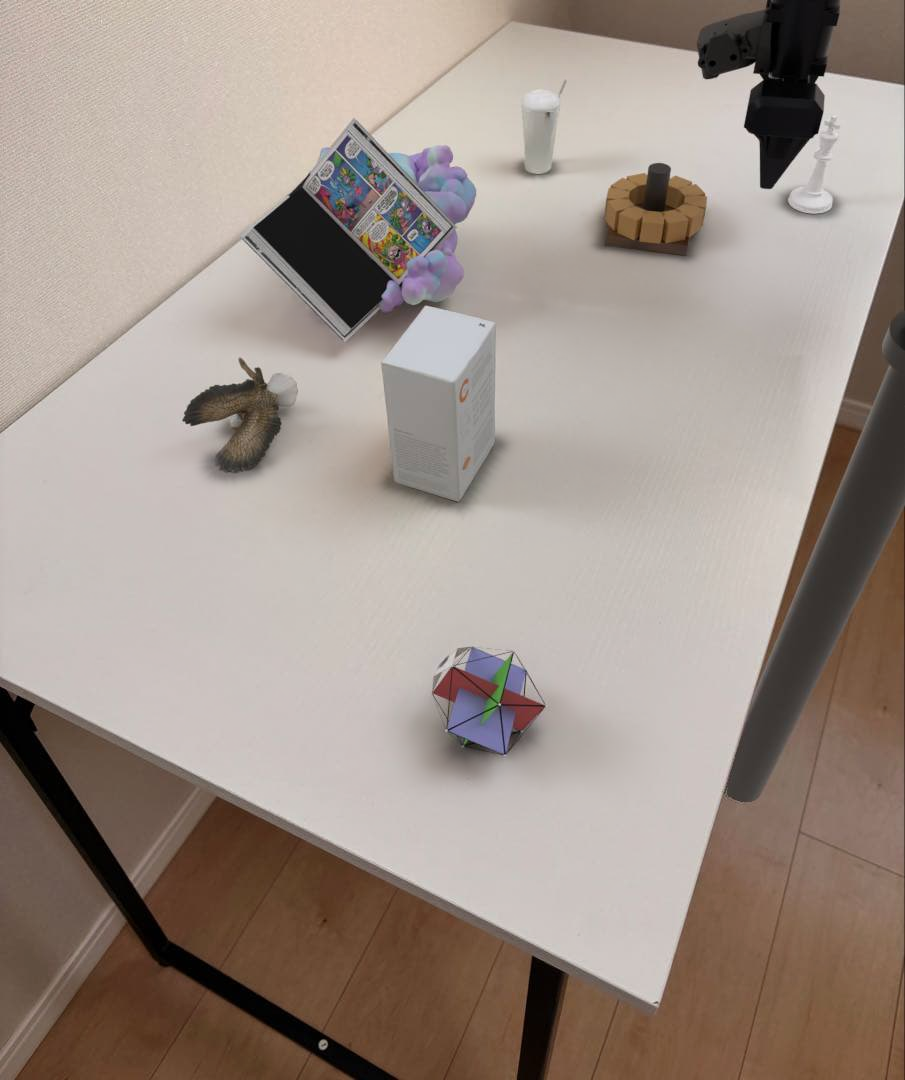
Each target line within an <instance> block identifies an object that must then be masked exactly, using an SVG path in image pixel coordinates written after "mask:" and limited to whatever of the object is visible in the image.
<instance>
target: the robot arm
mask: <svg viewBox="0 0 905 1080" xmlns="http://www.w3.org/2000/svg"><path fill="white" fill-rule="evenodd" d="M841 1H842V0H766V3H765V8H764V9H761V10H757V11H753V12H747V13H742V14H739V15H736V16H733V17H729V18H726V19H723V20H722V19H721V20H719V21H716V22H712V23H710V24H707V25H705V26H703V27H702V28H701V29H700V30H699V32H698V36H697V39H696V43H695V44H696V49H697V54H698V59H697V66H698V68H700V69H701V75H702V78H703V79H704V80H712V79H717V78H718V77H719V76H720V75H722V74H726V73H730V72H734V71H737V70H741V69H744V68H747V67H748V68H749V67H750V66H752V65H753V64H754V66H753V71H752V74H756V75H759V76H760V77H761V78H762V80H761V81H760V82H759V83H757V84H755V85H754V86H753V87H752V88H751V89H750V92H749V97H748V103H747V107H746V112H745V117H744V123H743V128H744V129H745V130H746V131H747V133H749V134H751V135H753V136H754V137H755V138H756V139H757V140H758V141H759V188H760V189H763V190H772V189H773V188H774V187H775V186H776V184H777V183H778V181H779V180H780V179H781V177H783V175H784V174H785V172H786V171H787V170H788V168H789V167H790V165H791V164H792V162H793V161H794V160H796V157H797V156H798V155H799V154H800V153H801V151H802V150H803V149H804V147H805V146H806V145H807V144H808V143H809V141H810V140H812V139H814V138H815V136H816V135H818V134H819V131H820V128H821V123H822V119H823V116H824V111H825V97H826V96H825V93H824V92H823V91H822V89H821V88H820V87H819V85H818V84H817V83H816V82H817V81H818V79H819V77H822V78H824V77H825V75H826V71H827V66H828V55H829V51H830V47H831V42H832V38H833V35H834V31H835V27H837V26H838V21H839V17H840V12H841Z"/></svg>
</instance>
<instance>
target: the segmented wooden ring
mask: <svg viewBox="0 0 905 1080" xmlns="http://www.w3.org/2000/svg"><path fill="white" fill-rule="evenodd" d="M646 181H647V174H646V173H645V172H643V173H636V174H631V175H626V178H625V177H621V178H620V179H619V180H616V181H615V182H614V183H612V184H611V185H610V187H608V190H607V194H606V198H605V208H604V221H605V222H606V223H607V225H609V226H610V227H611V228H612V229H613V231H615V230H617V233H618V234H620V235H623V236H625V237H627V238H630V239H632V240H635V239H637V238H638V237H640V240H639V241H640V242H649V243H659V244H660V243H661V238H662V239H663V241H664V242H665V243H671V242H676V241H681V240H685V237H688V238H690V239H691V237H692V236H694V235H695V234H696V233H698V232H699V231H700V230H701V228H702V227H703V225H704V220H705V215H706V211H707V204H708V203H707V202H708V196H706V193H705V192H704V190H703V189H702V188H701V187H700V186H699V185H698V184H697V183H695V184H693V181H692V180H688V179H686V178H683V177H681V176H678V175H674V176H672V177H670V179H669V185H668V191H667V198H666V204H665V205H667V206H670V207H672V208H675V210H670V211H665V212H655V211H647V210H644V209H642V208H639V207H637V206H635V205H638V204H643V202H644V195H645V188H646Z"/></svg>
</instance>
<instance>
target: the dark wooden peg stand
mask: <svg viewBox="0 0 905 1080" xmlns="http://www.w3.org/2000/svg"><path fill="white" fill-rule="evenodd" d="M671 173H672V167H671V166H670V165H668V164H667V163H663V162H654V163H650V164H649V165H648V167H647V174H646V175H647V181H646V188H645V195H644V202H643V204H638V205H635V206H637V207H639V208H642V209H644V210H647V211H655V212H665V211H670V210H675V208H672V207H670V206H667V205H665V204H666V198H667V191H668V185H669V179H671ZM607 225H608V224H607ZM639 240H640V237H638V238H637V239H635V240H632V239H630V238H627V237H625V236H623V235H620V234H618V233H617V230H615V231H613V229H612V228H611V227H610V226H609V225H608V226H607V229H606V232H605V235H604V242H603V244H604V246H608V247H609V246H610V247H616V248H624V249H632V250H640V251H648V252H655V253H661V254H662V253H664V254H671V255H677V256H679V255H680V256H687V254H688V250H689V246H690V240H691V237H690V238H688V237H685V240H681V241H676V242H671V243H665V242H664V241H663V239H662V238H661V243H660V244H659V243H649V242H640V241H639Z"/></svg>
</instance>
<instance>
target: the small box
mask: <svg viewBox="0 0 905 1080" xmlns="http://www.w3.org/2000/svg"><path fill="white" fill-rule="evenodd" d="M496 325H497V323H496V322H494V321H491V320H487V319H483V318H481V317H476V316H472V315H469V314H464V313H459V312H457V311H456V312H455V311H452V310H446V309H443V308H438V307H434V306H429V305H424V306H423V307H422V309H421V310H420V311H419V313H418V314H417V315H416V317H415V318H414V319H413V320H412V322H411V323H410V324H409V326H408V327H407V328H406V330H405V331H404V332H403V333H402V334H401V336H400V337H399V338H398V339H397V341H396V342H395V344H394V345H393V346H392V348H390V350H389V351H388V353H386V355H385V356H384V357H383V359H382V360H381V361H380V364H381V374H382V381H383V382H382V384H383V393H384V401H385V411H386V419H387V427H388V428H387V429H388V437H389V447H390V456H391V466H392V475H393V481H394V482H395V483H396V484H399V485H402V486H405V487H409V488H412V489H415V490H416V489H417V490H418V491H422V492H425V493H429V494H431V495H435V496H438V497H441V498H444V499H448V500H451V501H453V502H460V501H461V500H462V498H463V497H464V495H465V493H466V491H467V490H468V488H469V487H470V485H471V484H472V481H474V479H475V477H476V475H477V474H478V472H479V470H480V469H481V467H482V465H483V464H484V463H485V461H486V459H487V457H488V455H489V453H490V452H491V450H492V448H493V447H494V445H495V443H496V352H497V351H496V350H497V347H496V346H497V345H496V343H497V342H496V341H497V340H496V338H497V333H496V332H497V326H496Z"/></svg>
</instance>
